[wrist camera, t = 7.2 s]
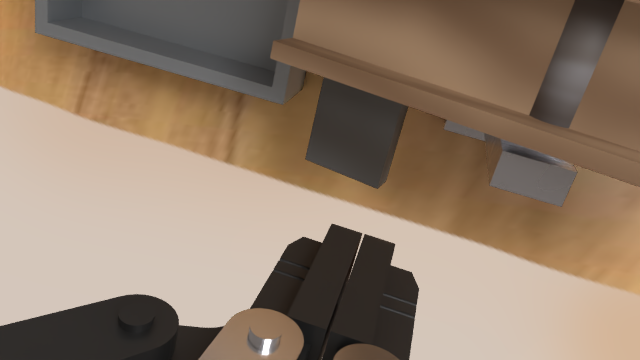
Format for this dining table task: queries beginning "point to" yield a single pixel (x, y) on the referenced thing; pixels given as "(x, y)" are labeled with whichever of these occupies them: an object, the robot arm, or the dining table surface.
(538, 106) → the lever
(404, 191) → the dining table surface
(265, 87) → the bin
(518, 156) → the stand
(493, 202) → the dining table surface
